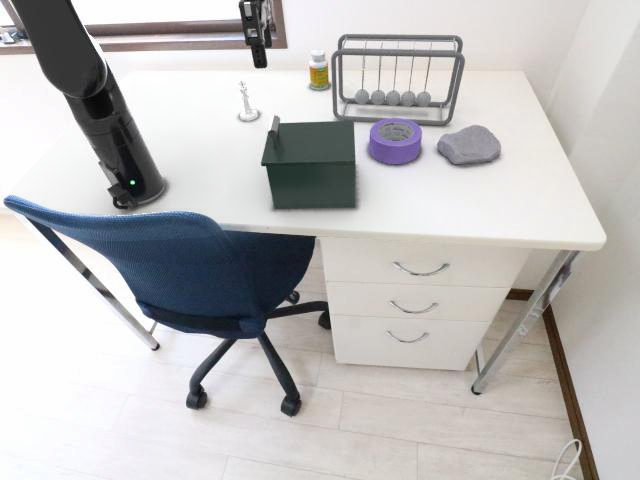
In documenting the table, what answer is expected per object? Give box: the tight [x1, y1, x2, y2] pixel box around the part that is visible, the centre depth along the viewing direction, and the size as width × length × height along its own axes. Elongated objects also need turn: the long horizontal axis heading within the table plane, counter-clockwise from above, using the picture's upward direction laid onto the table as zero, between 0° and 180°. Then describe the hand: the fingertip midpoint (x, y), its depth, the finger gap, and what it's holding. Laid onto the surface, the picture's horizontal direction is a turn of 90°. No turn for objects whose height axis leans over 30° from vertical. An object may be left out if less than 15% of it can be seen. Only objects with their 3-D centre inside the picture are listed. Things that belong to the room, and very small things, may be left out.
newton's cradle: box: [330, 33, 466, 126], centre depth 93 cm, size 30×10×18 cm, turn 79°
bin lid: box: [260, 115, 357, 167], centre depth 71 cm, size 17×14×5 cm
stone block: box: [436, 124, 502, 165], centre depth 85 cm, size 12×5×10 cm
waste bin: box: [265, 164, 356, 210], centre depth 77 cm, size 17×14×11 cm
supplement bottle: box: [308, 49, 330, 91], centre depth 108 cm, size 5×5×10 cm
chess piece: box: [238, 79, 259, 122], centre depth 99 cm, size 5×5×10 cm
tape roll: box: [368, 117, 423, 165], centre depth 86 cm, size 12×12×5 cm
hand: (264, 56), depth 66 cm, fingers open, 8 cm apart
